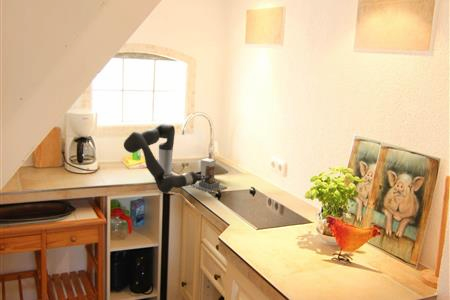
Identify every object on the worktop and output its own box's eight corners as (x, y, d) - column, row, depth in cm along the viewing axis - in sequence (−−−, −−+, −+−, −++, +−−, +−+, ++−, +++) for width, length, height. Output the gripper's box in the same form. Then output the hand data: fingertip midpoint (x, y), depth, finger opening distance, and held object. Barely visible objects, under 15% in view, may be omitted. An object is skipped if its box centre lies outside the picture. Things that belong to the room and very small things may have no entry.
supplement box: (214, 178, 314) (216, 159, 311) (208, 180, 308) (210, 161, 305) (205, 175, 318) (206, 157, 315) (199, 178, 311) (200, 159, 309)
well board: (190, 186, 292) (191, 181, 292) (207, 181, 305) (208, 176, 304) (210, 192, 283) (210, 187, 282) (226, 188, 295) (227, 182, 294)
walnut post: (204, 185, 293) (205, 165, 290) (208, 184, 296) (210, 164, 293) (209, 187, 291) (210, 167, 288) (213, 186, 294) (215, 166, 291)
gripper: (178, 182, 281) (197, 177, 293) (196, 188, 272) (214, 183, 285) (179, 170, 279) (197, 166, 292) (196, 176, 271) (215, 171, 283)
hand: (205, 174), depth 288 cm, fingers open, 8 cm apart
